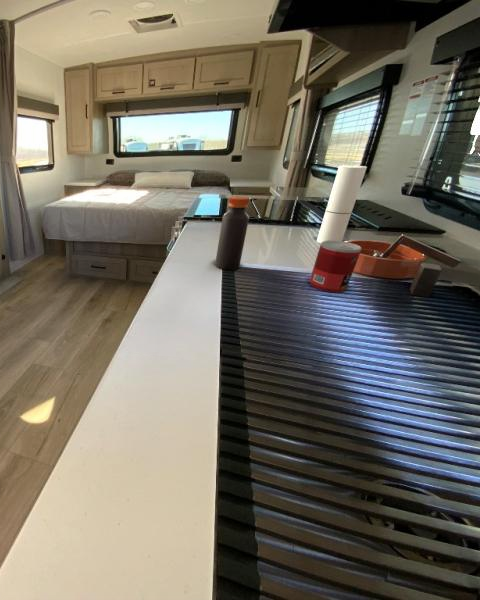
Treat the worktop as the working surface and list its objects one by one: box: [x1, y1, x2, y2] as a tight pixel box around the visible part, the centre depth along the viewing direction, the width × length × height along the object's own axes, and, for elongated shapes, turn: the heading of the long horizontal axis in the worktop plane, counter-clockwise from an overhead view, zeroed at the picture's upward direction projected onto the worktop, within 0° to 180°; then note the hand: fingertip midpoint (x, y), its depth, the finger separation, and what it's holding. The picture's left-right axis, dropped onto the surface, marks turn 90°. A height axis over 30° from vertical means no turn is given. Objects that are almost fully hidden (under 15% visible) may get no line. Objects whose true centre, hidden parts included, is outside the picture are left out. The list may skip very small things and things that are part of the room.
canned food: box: [309, 240, 361, 293], centre depth 82 cm, size 8×8×11 cm
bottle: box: [214, 196, 250, 271], centre depth 95 cm, size 7×7×20 cm
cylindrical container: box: [316, 165, 368, 244], centre depth 111 cm, size 7×7×25 cm
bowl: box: [344, 239, 428, 280], centre depth 94 cm, size 19×19×6 cm
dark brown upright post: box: [409, 262, 442, 298], centre depth 78 cm, size 3×4×7 cm
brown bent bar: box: [370, 234, 462, 269], centre depth 90 cm, size 16×5×9 cm, turn 54°
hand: (479, 156), depth 81 cm, fingers open, 8 cm apart
